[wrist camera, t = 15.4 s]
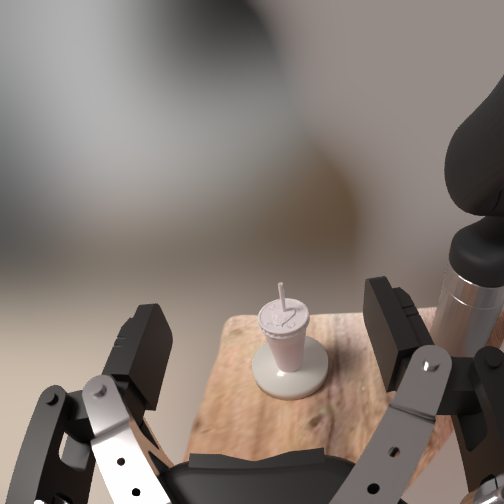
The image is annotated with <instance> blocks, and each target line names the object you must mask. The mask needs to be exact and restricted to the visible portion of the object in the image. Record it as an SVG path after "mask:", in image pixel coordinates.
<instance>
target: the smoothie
mask: <svg viewBox="0 0 504 504" xmlns="http://www.w3.org/2000/svg"><path fill="white" fill-rule="evenodd" d="M278 287H279V294H280V299H277V300H274V301H272V302H269V303H268V304H266V305H265V306H264V307H263V308H262V309H261V310H260V312H259V314H258V324H259V328H260V330H261V331H262V332H263V333H264V334H265V337H266V339H267V342H268V344H269V347H270V349H271V352H272V354H273V357H274V359H275V362H276V364H277V367H278V368H279V369H280V370H281V371H283V372H287V373H290V372H294V371H296V370H298V369H299V368H300V367H301V365H302V361H303V353H304V344H305V335H306V328H307V326H308V324H309V319H310V317H309V311H308V308H307V307H306V306H305V305H304V304H303V303H302V302H300V301H298V300H295V299H289V298H285V297H284V289H283V283H278Z"/></svg>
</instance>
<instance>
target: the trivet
mask: <svg viewBox="0 0 504 504" xmlns="http://www.w3.org/2000/svg"><path fill="white" fill-rule="evenodd" d="M252 370H253V374H254V378H255V381H256V383H257V385H258V387H259V388H260V389H261V390H262V391H263V392H264V393H265V394H267V395H268V396H270V397H273V398H276V399H280V400H297V399H301V398H304V397H307V396H309V395H311V394H313V393H314V392H315V391H317V390H318V389H319V388H320V387H321V386H322V384H323V383H324V381H325V379H326V377H327V373H328V356H327V352H326V350H325V349H324V347H323V346H322V345H321V344H320V343H319V342H318V341H317V340H315V339H313V338H311V337H308V336H305V344H304V353H303V361H302V365H301V367H300V368H299V369H298V370H296V371H294V372H290V373H287V372H283V371H281V370H280V369H279V368H278V367H277V364H276V362H275V359H274V357H273V354H272V352H271V349H270V347H269V344H268V342H266V343H265V344H263V345H262V346H261V347H260V348H259V349H258V351H257V352H256V354H255V356H254V358H253V361H252Z"/></svg>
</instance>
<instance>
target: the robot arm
mask: <svg viewBox="0 0 504 504" xmlns="http://www.w3.org/2000/svg"><path fill="white" fill-rule="evenodd" d="M444 171H445V181H446V186H447V189H448V192H449V194H450V196H451V199H452V200H453V201H454V203H455V204H456V205H457V206H458V207H459V208H460V209H462V210H463V211H465V212H467V213H470V214H473V215H478V216H485V217H484V218H483V219H481V220H480V221H478V222H476V223H474V224H471V225H469V226H466V227H464V228H462V229H461V230H459V231H458V232H457V233H456V234H455V236H454V237H453V240H452V243H451V247H450V253H449V258H448V263H447V268H446V273H445V278H444V282H443V286H442V291H441V294H440V299H439V302H438V306H437V310H436V313H435V317H434V320H433V324H432V327H431V330H430V333H429V332H428V330H427V328H426V326H425V324H424V322H423V320H422V318H421V316H420V315H419V312H418V310H417V309H416V307H415V306H414V303H413V301H412V299H411V297H410V296H409V295H408V294H407V293H406V292H405V291H404V290H402V289H401V288H400V287H398V288H392V287H391V285H390V283H389V281H388V280H387V278H386V277H385V276H382V277H376V278H369V279H366V281H365V292H364V305H363V306H364V307H363V316H364V322H365V326H366V329H367V332H368V335H369V338H370V341H371V344H372V347H373V350H374V353H375V356H376V360H377V363H378V366H379V369H380V372H381V376H382V379H383V382H384V386H385V389H386V393H387V392H391V391H396V394H395V396H394V398H393V400H392V402H391V404H390V405H389V406H388V408H387V410H386V412H385V414H384V416H383V418H382V419H381V421H380V423H379V425H378V427H377V429H376V431H375V432H374V434H373V436H372V438H371V439H370V441H369V443H368V445H367V446H366V448H365V450H364V451H363V453H362V455H361V456H360V458H359V460H358V461H357V463H356V464H355V463H353V462H351V461H349V460H347V459H343V458H340V457H336V456H330V455H324V448H317V449H309V450H301V451H291V452H287V453H284V454H280V455H277V456H274V457H270V458H267V459H263V460H259V461H248V460H244V459H239V458H234V457H230V456H226V455H222V454H192V453H190V457H189V461H187V462H183V463H180V464H178V465H175V466H174V464H173V463H172V462H171V461H170V460H169V459H168V457H167V456H166V454H165V453H164V451H163V450H162V448H161V446H160V445H159V443H158V441H157V439H156V438H155V436H154V434H153V432H152V431H151V429H150V427H149V425H148V423H147V421H146V419H145V418H144V417H143V416H144V412H145V410H153V411H155V410H156V407H157V403H158V398H159V394H160V390H161V386H162V382H163V378H164V374H165V370H166V366H167V363H168V359H169V355H170V351H171V348H172V343H173V338H172V332H171V329H170V327H169V325H168V323H167V321H166V319H165V316H164V314H163V312H162V310H161V308H160V306H159V305H158V304H146V305H139V306H138V308H137V310H136V313H135V315H134V317H133V318H129V319H128V321H127V322H126V323H125V324H124V325H123V326H122V327H121V330H120V332H119V334H118V336H117V337H118V338H117V339H116V341H115V343H114V347H113V348H112V350H111V353H110V356H109V357H108V360H107V362H106V365H105V367H104V369H103V372H102V374H101V375H99V376H96V377H93V378H92V379H91V380H89V381H88V382H87V384H86V385H85V387H84V388H83V390H80V391H75V392H71V393H67V392H66V391H65V390H64V389H63V388H62V387H61V386H58V385H53V386H50V387H48V388H47V389H45V390H44V391H43V392H42V394H41V395H40V398H39V400H38V402H37V405H36V407H35V410H34V413H33V415H32V418H31V420H30V423H29V426H28V429H27V432H26V434H25V437H24V440H23V443H22V446H21V449H20V452H19V455H18V459H17V462H16V465H15V469H14V472H13V475H12V479H11V483H10V487H9V490H8V494H7V499H6V503H5V504H87V503H88V498H89V492H90V487H91V482H92V476H93V472H94V467H95V462H96V459H97V462H98V465H99V467H100V470H101V472H102V474H103V477H104V479H105V481H106V484H107V486H108V489H109V491H110V493H111V495H112V497H113V500H114V501H115V504H407V503H406V502H405V501H403V500H402V499H401V496H402V494H403V492H404V490H405V489H406V487H407V485H408V483H409V481H410V479H411V477H412V475H413V473H414V471H415V469H416V467H417V465H418V463H419V461H420V458H421V456H422V454H423V452H424V450H425V447H426V445H427V443H428V440H429V438H430V435H431V433H432V430H433V428H434V425H435V421H436V419H435V416H436V415H451V418H452V422H453V426H454V429H455V433H456V436H457V441H458V444H459V449H460V453H461V457H462V461H463V465H464V470H465V475H466V480H467V485H468V491H469V494H467V495H466V496H465V497H464V498H463V500H462V501H461V503H460V504H504V353H503V352H502V351H501V350H499V349H498V348H495V347H491V346H487V347H485V345H486V343H487V341H488V339H489V337H490V335H491V332H492V330H493V328H494V326H495V323H496V321H497V319H498V316H499V314H500V311H501V309H502V306H503V304H504V75H503V77H502V78H501V80H500V81H499V83H498V84H497V85H496V87H495V88H494V89H493V91H492V92H491V93H490V95H489V96H488V97H487V98H486V99H485V100H484V101H483V102H482V104H481V105H480V106H479V107H478V108H477V109H476V110H475V111H474V112H473V113H472V114H471V115H470V116H469V117H468V118H467V119H466V120H465V121H464V122H463V123H462V124H461V125H460V126H459V127H458V129H457V130H456V131H455V133H454V135H453V137H452V139H451V141H450V144H449V146H448V149H447V153H446V158H445V169H444ZM64 432H65V433H66V434H68V437H67V440H66V444H65V448H64V451H63V455H62V458H61V459H60V457H59V448H60V444H61V441H62V438H63V434H64Z"/></svg>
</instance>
